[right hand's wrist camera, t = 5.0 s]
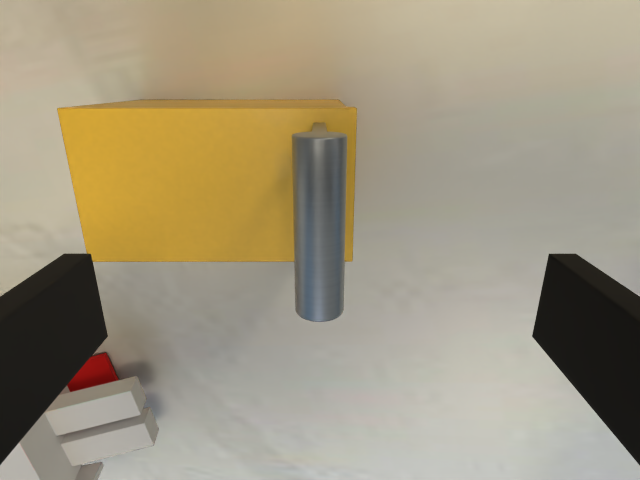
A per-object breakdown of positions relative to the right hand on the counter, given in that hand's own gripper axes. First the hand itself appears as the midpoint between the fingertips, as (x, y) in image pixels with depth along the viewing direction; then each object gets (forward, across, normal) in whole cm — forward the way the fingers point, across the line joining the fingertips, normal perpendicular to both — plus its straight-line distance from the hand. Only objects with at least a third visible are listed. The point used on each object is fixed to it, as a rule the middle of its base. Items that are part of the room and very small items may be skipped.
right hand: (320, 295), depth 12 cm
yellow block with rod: (+14, -6, 0) cm, 15 cm away
